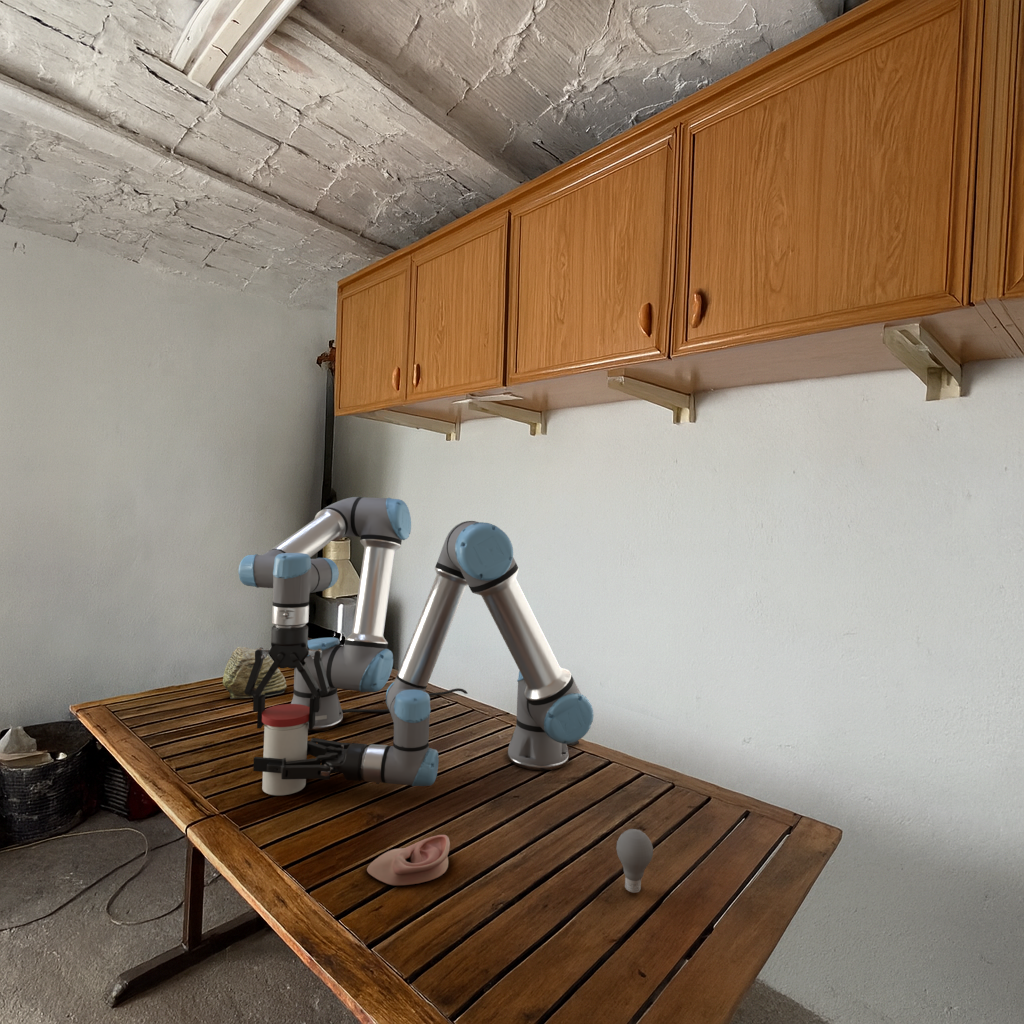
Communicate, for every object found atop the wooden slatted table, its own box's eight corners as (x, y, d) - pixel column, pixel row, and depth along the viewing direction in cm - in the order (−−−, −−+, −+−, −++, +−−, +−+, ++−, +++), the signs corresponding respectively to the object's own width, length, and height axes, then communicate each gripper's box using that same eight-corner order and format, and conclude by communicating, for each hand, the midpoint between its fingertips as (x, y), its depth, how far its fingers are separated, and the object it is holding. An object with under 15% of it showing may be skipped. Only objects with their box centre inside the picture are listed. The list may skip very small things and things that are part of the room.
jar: (278, 774, 143) (281, 707, 143) (313, 780, 141) (316, 713, 141) (253, 791, 135) (255, 720, 135) (289, 798, 133) (292, 726, 132)
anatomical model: (359, 856, 105) (387, 822, 116) (358, 879, 105) (386, 843, 116) (435, 869, 102) (456, 833, 114) (434, 893, 103) (455, 855, 114)
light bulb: (610, 879, 108) (613, 822, 108) (644, 879, 109) (647, 822, 109) (619, 902, 102) (622, 840, 102) (655, 901, 103) (658, 840, 103)
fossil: (218, 695, 195) (220, 647, 195) (278, 685, 208) (279, 640, 207) (228, 703, 189) (230, 653, 188) (289, 692, 201) (290, 645, 201)
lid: (255, 716, 138) (255, 708, 138) (300, 708, 145) (301, 701, 145) (270, 730, 131) (271, 722, 131) (318, 721, 137) (318, 713, 137)
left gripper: (229, 627, 132) (226, 732, 133) (340, 629, 135) (336, 733, 135) (241, 620, 140) (238, 719, 140) (346, 622, 142) (342, 720, 143)
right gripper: (348, 803, 126) (239, 794, 127) (379, 759, 147) (286, 752, 149) (349, 766, 126) (240, 757, 127) (381, 727, 147) (287, 720, 149)
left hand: (286, 726), depth 138 cm, fingers closed on lid, 10 cm apart
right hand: (265, 754), depth 138 cm, fingers closed on jar, 9 cm apart
